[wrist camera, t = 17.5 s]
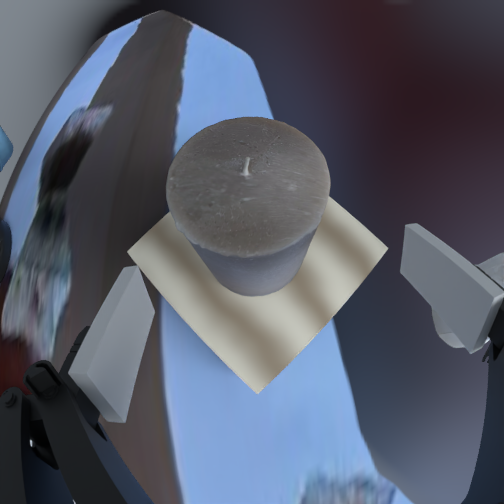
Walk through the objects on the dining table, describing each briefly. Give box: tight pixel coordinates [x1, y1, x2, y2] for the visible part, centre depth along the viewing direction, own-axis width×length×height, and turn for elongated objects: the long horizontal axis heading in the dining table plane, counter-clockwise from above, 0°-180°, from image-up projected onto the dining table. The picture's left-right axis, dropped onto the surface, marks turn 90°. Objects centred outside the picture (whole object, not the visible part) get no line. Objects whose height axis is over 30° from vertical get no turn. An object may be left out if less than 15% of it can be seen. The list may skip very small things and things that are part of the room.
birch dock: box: [127, 197, 388, 394], centre depth 32 cm, size 20×20×6 cm
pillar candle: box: [166, 117, 331, 297], centre depth 22 cm, size 10×10×15 cm
